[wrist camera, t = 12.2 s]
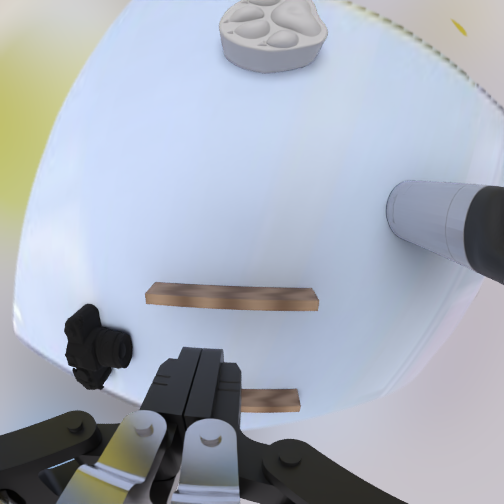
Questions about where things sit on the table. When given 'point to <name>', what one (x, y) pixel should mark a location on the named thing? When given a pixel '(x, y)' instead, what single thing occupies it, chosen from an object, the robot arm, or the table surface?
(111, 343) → the film camera
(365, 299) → the table surface
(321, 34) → the lumpy-topped squat cylinder
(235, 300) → the walnut chute
